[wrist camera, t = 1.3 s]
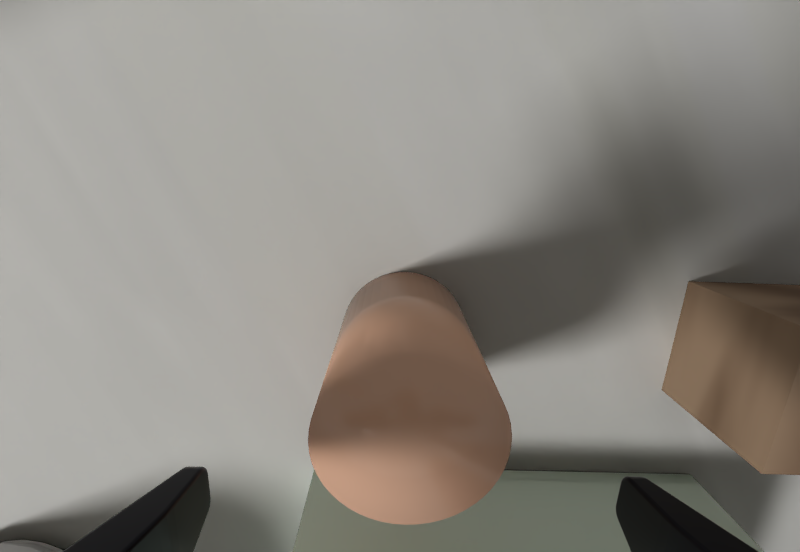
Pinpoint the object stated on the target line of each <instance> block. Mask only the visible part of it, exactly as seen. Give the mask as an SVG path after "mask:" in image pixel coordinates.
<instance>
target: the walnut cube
mask: <svg viewBox="0 0 800 552" xmlns="http://www.w3.org/2000/svg"><path fill="white" fill-rule="evenodd" d="M662 391H664V392H665V393H666V394H667V395H668V396H670V397H671V398H672V399H673V400H674V401H676V402H677V403H678V404H679V405H680V406H681V407H683V408H684V409H685V410H686V411H687V412H689V413H690V414H691V415H692V416H693V417H695V418H696V419H697V420H698V421H699V422H701V423H702V424H703V425H704V426H705V427H706V428H708V429H709V430H710V431H711V432H712V433H714V434H715V435H716V436H717V437H718V438H720V439H721V440H722V441H723V442H724V443H725V444H727V445H728V446H729V447H730V448H731V449H733V450H734V451H735V452H736V453H737V454H739V455H740V456H741V457H742V458H743V459H744V460H746V461H747V462H748V463H749V464H750V465H752V466H753V467H754V468H755V469H756V470H758V471H759V472H760V473H761V474H787V475H800V285H785V284H755V283H725V282H695V281H689V282H688V286H687V290H686V294H685V298H684V302H683V306H682V310H681V314H680V318H679V322H678V326H677V330H676V334H675V338H674V342H673V346H672V351H671V355H670V359H669V363H668V367H667V371H666V375H665V379H664V383H663V387H662Z"/></svg>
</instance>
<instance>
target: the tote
mask: <svg viewBox="0 0 800 552" xmlns="http://www.w3.org/2000/svg"><path fill="white" fill-rule="evenodd" d="M626 476H640V477H644V478H646V479H648V480H650V481H651V482H653V483H654V484H656V485H657V486H659V487H660V488H662V489H663V490H665V491H667V492H668V493H670V494H671V495H673V496H674V497H676V498H677V499H679V500H680V501H682V502H683V503H685V504H686V505H688V506H690V507H691V508H693V509H694V510H696V511H697V512H699V513H700V514H702V515H703V516H705V517H706V518H708V519H709V520H711V521H712V522H714V523H716V524H717V525H719V526H720V527H722V528H723V529H725V530H726V531H728V532H729V533H731V534H732V535H734V536H735V537H737V538H739V539H740V540H742V541H743V542H745V543H746V544H748V545H749V546H751V547H752V548H754V549H755V550H757V551H758V552H764V551H763V550H762V549H761V548H760V547H759V546H758V545H757V544H756V543H755V542H754V541H753V539H752V538H751V537H750V536H749V535H748V534H747V533H746V532H745V531H744V530H743V529H742V528H741V527H740V526H739V525H738V524H737V523H736V522H735V521H734V520H733V519H732V518H731V516H730V515H729V514H728V513H727V512H726V511H725V510H724V509H723V508H722V507H721V506H720V505H719V504H718V503H717V502H716V501H715V500H714V499H713V498H712V497H711V496H710V495H709V493H708V492H707V491H706V490H705V489H704V488H703V487H702V486H701V485H700V484H699V483H698V482H697V481H696V480H695V479H694V478H693V477H692V476H691V475H690V474H655V473H608V472H561V471H514V470H504V471H503V473H502V475H501V476H500V478H499V480H498V481H497V482H496V484H495V485H494V486H493V488H492V489H491V490H490V491H489V492H488V493H487V494H486V495H485V496H484V497H483V498H482V499H480V500H479V501H478V502H477V503H476V504H474V505H473V506H471V507H469V508H468V509H466V510H465V511H463V512H460V513H458V514H456V515H454V516H452V517H449V518H446V519H443V520H440V521H436V522H432V523H425V524H416V525H401V524H391V523H385V522H380V521H377V520H374V519H370V518H368V517H365V516H363V515H360V514H358V513H356V512H354V511H353V510H351V509H349V508H347V507H346V506H345V505H343V504H342V503H341V502H339V501H338V500H337V499H336V498H335V497H334V496H333V495H331V494H330V492H329V491H328V490H327V489H326V488H325V486H324V485H323V484H322V482H321V481H320V479H319V477H318V476H317V474H316V472H315V469H314V473H313V476H312V480H311V484H310V488H309V492H308V496H307V499H306V503H305V507H304V511H303V515H302V518H301V522H300V526H299V530H298V534H297V538H296V541H295V545H294V549H293V552H631V550H630V548H629V545H628V543H627V540H626V538H625V536H624V533H623V531H622V528H621V526H620V523H619V521H618V518H617V515H616V503H617V498H618V494H619V489H620V485H621V481H622V479H623V478H624V477H626Z"/></svg>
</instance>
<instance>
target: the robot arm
mask: <svg viewBox="0 0 800 552" xmlns="http://www.w3.org/2000/svg"><path fill="white" fill-rule="evenodd" d="M209 507H210V489H209V480H208V473H207V470H206V468H204V467H185V468H183V469H182V470H180V471H179V472H177V473H176V474H174V475H173V476H171V477H170V478H169V479H167V480H166V481H164V482H163V483H161V484H160V485H158V486H157V487H156V488H154V489H153V490H151V491H150V492H148V493H147V494H145V495H144V496H142V497H141V498H140V499H138V500H137V501H135V502H134V503H132V504H131V505H129V506H128V507H127V508H125V509H124V510H122V511H121V512H119V513H118V514H116V515H115V516H113V517H112V518H111V519H109V520H108V521H106V522H105V523H103V524H102V525H100V526H99V527H98V528H96V529H95V530H93V531H92V532H90V533H89V534H87V535H86V536H85V537H83V538H82V539H80V540H79V541H77V542H76V543H74V544H73V545H71V546H70V547H69V548H67V549H66V550H64V551H63V552H193V551H194V548H195V545H196V543H197V540H198V537H199V535H200V532H201V529H202V527H203V524H204V521H205V519H206V516H207V513H208V510H209ZM616 515H617V518H618V521H619V523H620V526H621V528H622V531H623V533H624V536H625V538H626V540H627V543H628V545H629V548H630V550H631V552H758V551H757V550H755V549H754V548H752V547H751V546H749V545H748V544H746V543H745V542H743V541H742V540H740V539H739V538H737V537H735V536H734V535H732V534H731V533H729V532H728V531H726V530H725V529H723V528H722V527H720V526H719V525H717V524H716V523H714V522H712V521H711V520H709V519H708V518H706V517H705V516H703V515H702V514H700V513H699V512H697V511H696V510H694V509H693V508H691V507H690V506H688V505H686V504H685V503H683V502H682V501H680V500H679V499H677V498H676V497H674V496H673V495H671V494H670V493H668V492H667V491H665V490H663V489H662V488H660V487H659V486H657V485H656V484H654V483H653V482H651V481H650V480H648V479H646V478H644V477H640V476H626V477H624V478H623V479H622V481H621V485H620V489H619V494H618V498H617V503H616Z"/></svg>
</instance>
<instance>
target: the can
mask: <svg viewBox="0 0 800 552" xmlns="http://www.w3.org/2000/svg"><path fill="white" fill-rule="evenodd" d="M0 552H63V550H62V549H59V548H56V547H54V546H51V545H49V544H46V543H43V542H37V541H30V540H13V541H4V542H2V543H0Z"/></svg>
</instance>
